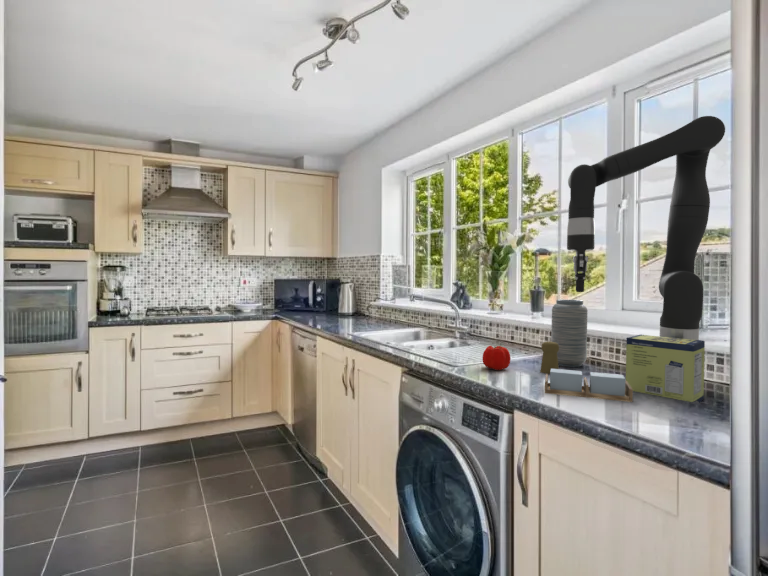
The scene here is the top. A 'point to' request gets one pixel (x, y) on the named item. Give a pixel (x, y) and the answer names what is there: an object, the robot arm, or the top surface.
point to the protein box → (666, 366)
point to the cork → (549, 357)
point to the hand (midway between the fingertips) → (579, 291)
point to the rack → (586, 393)
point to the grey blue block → (566, 380)
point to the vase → (570, 332)
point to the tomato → (496, 358)
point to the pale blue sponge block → (607, 384)
